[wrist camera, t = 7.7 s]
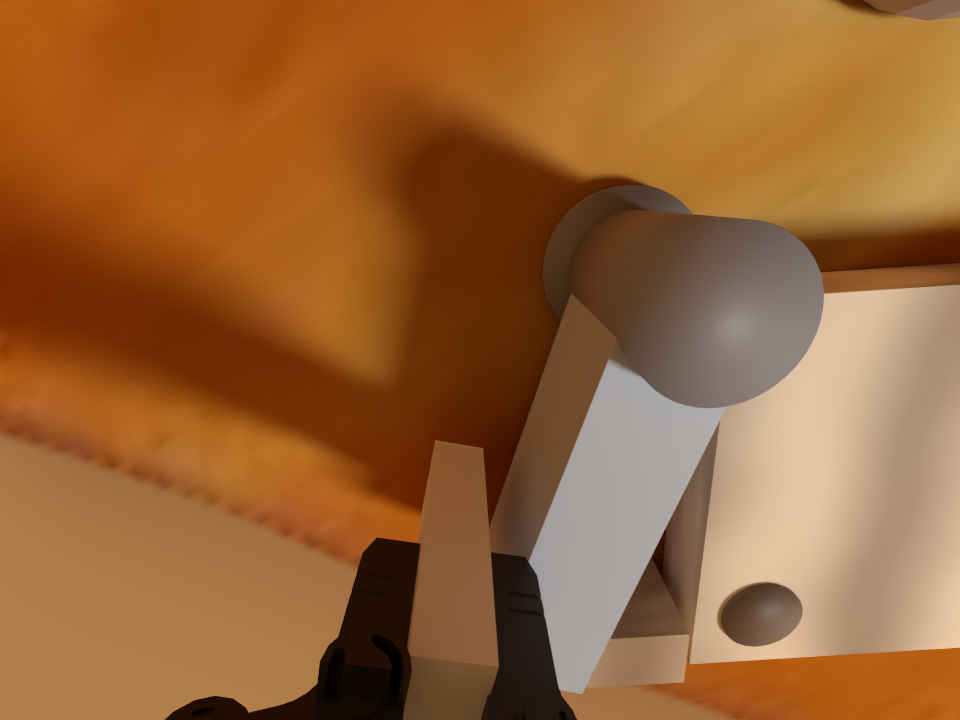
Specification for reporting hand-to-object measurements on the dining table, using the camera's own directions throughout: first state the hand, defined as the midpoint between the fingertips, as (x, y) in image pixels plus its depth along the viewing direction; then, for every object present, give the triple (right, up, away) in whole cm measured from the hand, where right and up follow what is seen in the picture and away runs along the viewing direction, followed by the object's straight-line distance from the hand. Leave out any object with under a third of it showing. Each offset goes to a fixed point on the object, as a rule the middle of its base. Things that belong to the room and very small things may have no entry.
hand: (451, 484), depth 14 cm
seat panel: (+11, +2, +1) cm, 11 cm away
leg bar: (+4, +2, 0) cm, 4 cm away
